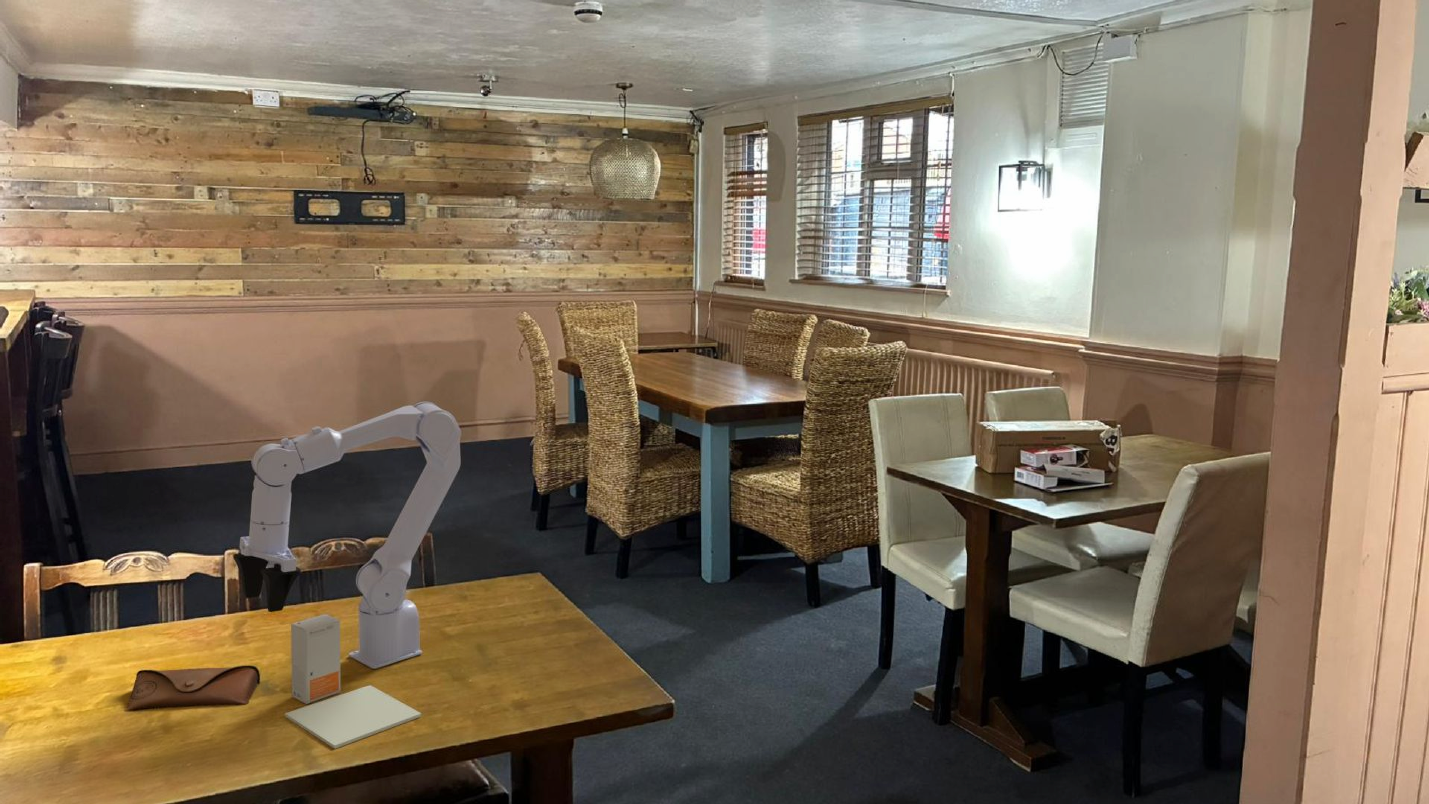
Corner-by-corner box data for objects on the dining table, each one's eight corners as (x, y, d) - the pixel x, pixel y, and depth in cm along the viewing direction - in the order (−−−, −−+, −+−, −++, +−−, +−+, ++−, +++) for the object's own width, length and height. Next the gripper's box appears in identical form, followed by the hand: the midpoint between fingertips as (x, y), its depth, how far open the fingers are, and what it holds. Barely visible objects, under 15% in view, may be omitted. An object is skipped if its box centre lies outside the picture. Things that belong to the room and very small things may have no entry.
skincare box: (307, 705, 159) (305, 630, 157) (291, 697, 162) (289, 623, 160) (342, 692, 164) (341, 619, 162) (326, 684, 166) (325, 612, 164)
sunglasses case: (119, 712, 154) (124, 666, 157) (132, 717, 161) (137, 672, 163) (250, 704, 159) (253, 659, 161) (258, 709, 165) (261, 666, 167)
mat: (370, 688, 166) (370, 685, 166) (421, 716, 157) (421, 713, 157) (285, 716, 155) (285, 713, 155) (334, 748, 146) (334, 745, 146)
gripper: (223, 512, 167) (217, 594, 168) (267, 534, 158) (261, 621, 159) (266, 508, 172) (260, 588, 174) (311, 529, 163) (304, 613, 164)
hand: (263, 603), depth 167 cm, fingers open, 7 cm apart
